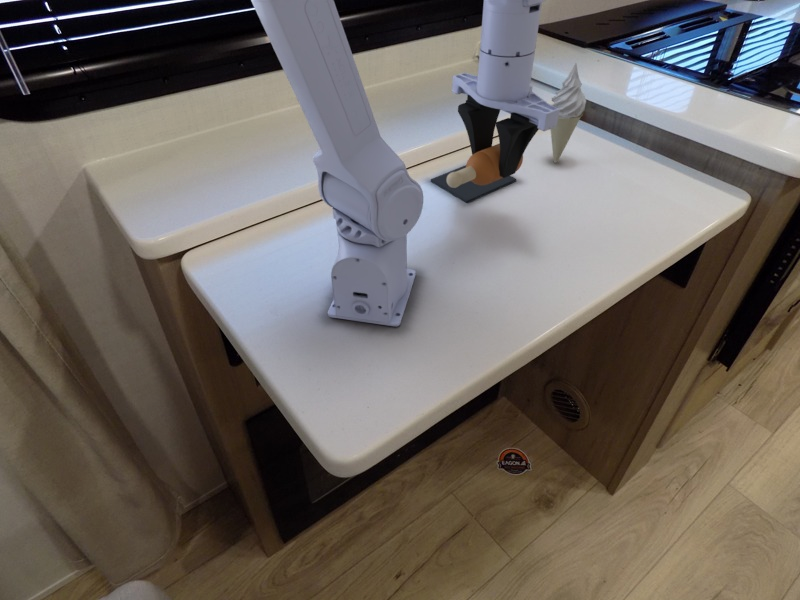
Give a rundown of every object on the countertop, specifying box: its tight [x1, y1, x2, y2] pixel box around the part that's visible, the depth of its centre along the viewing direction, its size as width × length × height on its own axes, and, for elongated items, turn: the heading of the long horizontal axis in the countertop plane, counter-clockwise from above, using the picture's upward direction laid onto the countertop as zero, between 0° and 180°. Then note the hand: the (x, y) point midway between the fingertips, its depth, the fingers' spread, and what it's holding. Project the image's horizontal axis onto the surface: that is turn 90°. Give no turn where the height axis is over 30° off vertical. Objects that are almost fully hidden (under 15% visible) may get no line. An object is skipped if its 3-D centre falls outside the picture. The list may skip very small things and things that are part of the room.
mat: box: [430, 164, 517, 204], centre depth 79 cm, size 10×8×1 cm
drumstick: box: [447, 142, 524, 188], centre depth 63 cm, size 11×4×4 cm, turn 127°
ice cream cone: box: [549, 63, 587, 164], centre depth 78 cm, size 5×5×15 cm
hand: (494, 167), depth 64 cm, fingers closed on drumstick, 4 cm apart
